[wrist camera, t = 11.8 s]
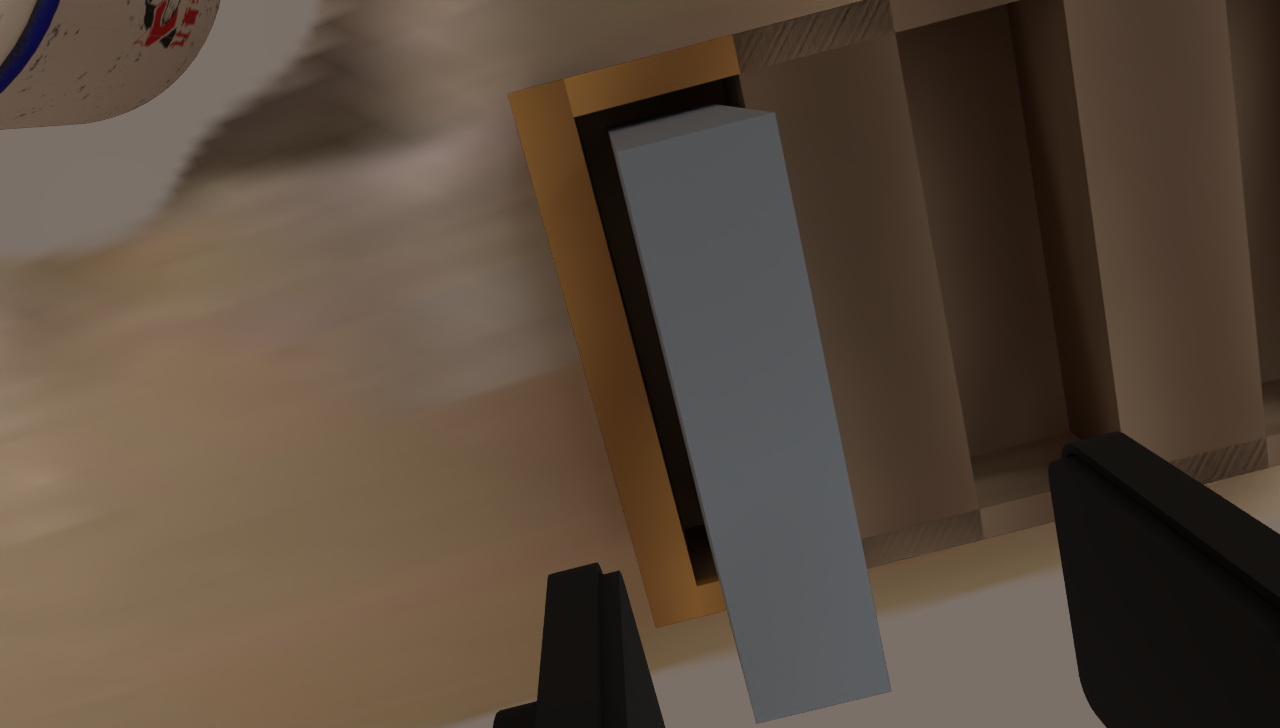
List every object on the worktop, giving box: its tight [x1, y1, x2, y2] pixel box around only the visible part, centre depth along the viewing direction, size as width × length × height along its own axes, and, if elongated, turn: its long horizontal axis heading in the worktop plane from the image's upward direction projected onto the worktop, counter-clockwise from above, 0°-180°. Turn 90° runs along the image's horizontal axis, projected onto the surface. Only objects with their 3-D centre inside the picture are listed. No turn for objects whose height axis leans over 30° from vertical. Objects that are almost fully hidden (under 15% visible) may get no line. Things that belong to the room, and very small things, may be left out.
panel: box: [607, 103, 891, 724], centre depth 21 cm, size 2×10×10 cm, turn 14°
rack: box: [508, 0, 1280, 628], centre depth 25 cm, size 20×13×5 cm, turn 104°
